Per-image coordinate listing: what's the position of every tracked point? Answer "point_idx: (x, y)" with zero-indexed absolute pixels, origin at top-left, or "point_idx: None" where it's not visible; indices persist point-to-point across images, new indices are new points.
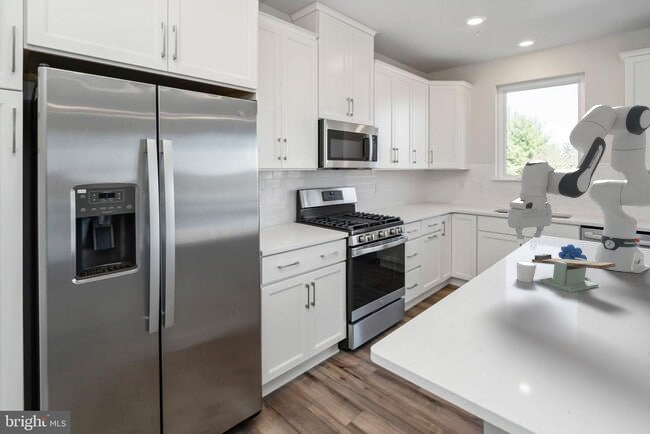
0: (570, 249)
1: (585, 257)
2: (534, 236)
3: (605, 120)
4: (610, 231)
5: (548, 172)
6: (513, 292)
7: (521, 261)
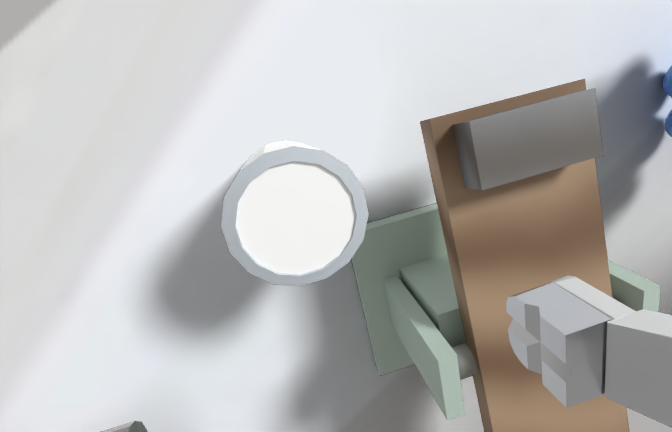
0: None
1: None
2: (511, 306)
3: None
4: None
5: None
6: (79, 367)
7: (293, 163)
